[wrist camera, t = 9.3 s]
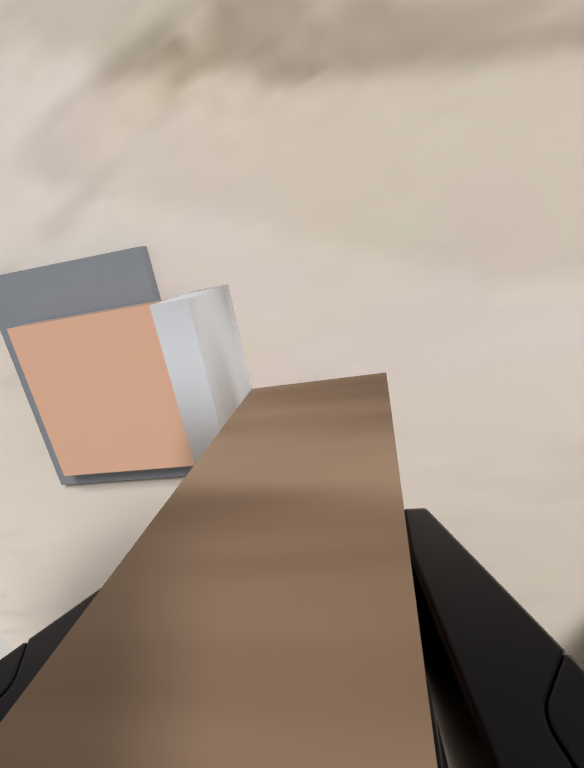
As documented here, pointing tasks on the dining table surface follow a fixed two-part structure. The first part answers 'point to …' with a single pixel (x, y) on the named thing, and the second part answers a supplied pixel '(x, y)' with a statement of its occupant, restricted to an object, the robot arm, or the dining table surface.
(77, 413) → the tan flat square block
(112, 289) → the slate mat
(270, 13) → the dining table surface
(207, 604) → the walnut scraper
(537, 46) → the dining table surface
